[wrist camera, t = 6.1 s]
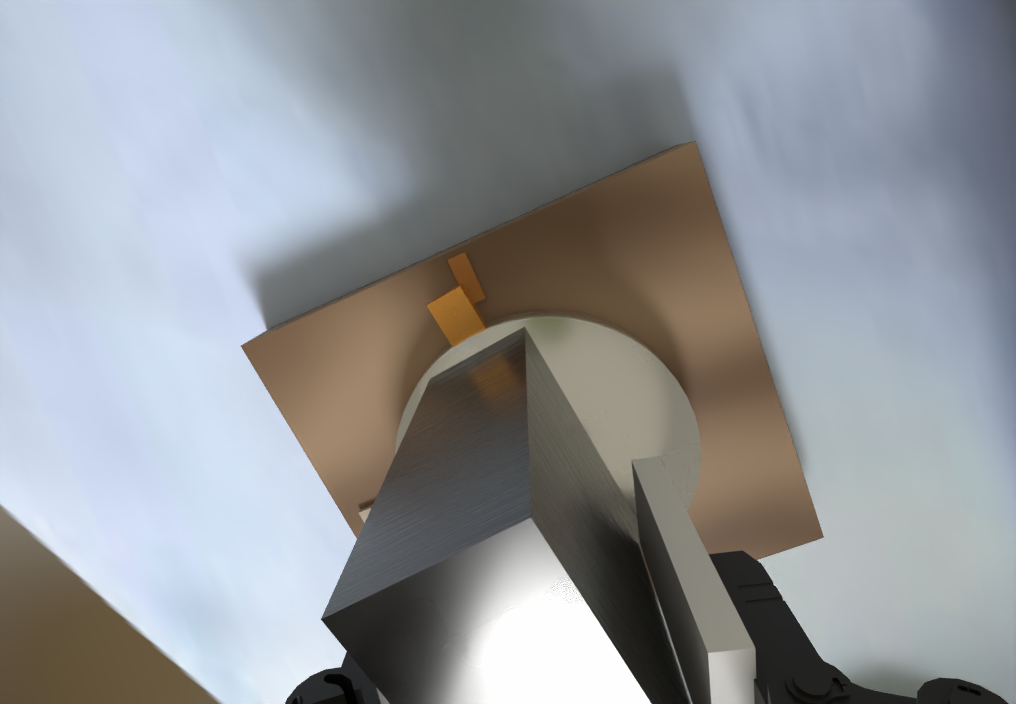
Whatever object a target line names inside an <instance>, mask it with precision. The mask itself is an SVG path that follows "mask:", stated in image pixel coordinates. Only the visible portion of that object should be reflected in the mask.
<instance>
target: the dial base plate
mask: <svg viewBox="0 0 1016 704" xmlns="http://www.w3.org/2000/svg"><path fill="white" fill-rule="evenodd" d="M461 283H462V284H463V285H464V287H465V288H466V290H467V292H468V293H469V295H470V297H471V298H472V300H473V302H474V303H475V305H476V307H477V308H478V310H479V312H480V313H481V315H482V317H483V318H484V320H485V322H488V321H490V320H493V319H496V318H499V317H502V316H505V315H508V314H514V313H519V312H524V311H532V310H563V311H572V312H577V313H582V314H587V315H591V316H593V317H596V318H599V319H602V320H605V321H608V322H610V323H612V324H614V325H616V326H618V327H620V328H622V329H624V330H626V331H627V332H629V333H630V334H632V335H633V336H635V337H636V338H638V339H639V340H641V341H642V342H643V343H644V344H645V345H646V346H648V347H649V348H650V349H651V350H652V351H653V352H654V353H655V354H656V355H657V356H658V357H659V359H660V360H661V361H662V362H663V363H664V364H665V366H666V367H667V368H668V369H669V371H670V372H671V373H672V374H673V376H674V377H675V378H676V380H677V381H678V383H679V384H680V386H681V387H682V389H683V391H684V392H685V394H686V396H687V397H688V400H689V402H690V404H691V407H692V409H693V411H694V414H695V417H696V421H697V425H698V429H699V433H700V443H701V469H700V474H699V479H698V485H697V488H696V491H695V494H694V497H693V500H692V503H691V505H690V507H689V509H688V511H687V513H688V515H689V517H690V519H691V521H692V523H693V525H694V527H695V529H696V531H697V533H698V535H699V537H700V539H701V541H702V543H703V545H704V547H705V549H706V551H707V553H708V554H715V553H724V552H732V551H741V550H743V551H744V552H746V553H747V554H749V555H750V556H751V557H753V558H754V559H755V560H758V559H761V558H764V557H767V556H770V555H773V554H776V553H779V552H782V551H785V550H788V549H791V548H794V547H797V546H800V545H803V544H806V543H809V542H812V541H815V540H818V539H820V538H823V537H824V536H823V533H822V530H821V527H820V524H819V521H818V518H817V515H816V512H815V509H814V506H813V502H812V499H811V496H810V493H809V490H808V487H807V484H806V481H805V478H804V475H803V472H802V469H801V465H800V462H799V459H798V456H797V453H796V450H795V447H794V444H793V441H792V438H791V435H790V431H789V428H788V425H787V422H786V419H785V416H784V413H783V410H782V407H781V404H780V401H779V398H778V394H777V391H776V388H775V385H774V382H773V379H772V376H771V373H770V370H769V367H768V364H767V361H766V357H765V354H764V351H763V348H762V345H761V342H760V339H759V336H758V333H757V330H756V327H755V323H754V320H753V317H752V314H751V311H750V308H749V305H748V302H747V299H746V296H745V293H744V290H743V286H742V283H741V280H740V277H739V274H738V271H737V268H736V265H735V262H734V259H733V256H732V253H731V249H730V246H729V243H728V240H727V237H726V234H725V231H724V228H723V225H722V222H721V219H720V216H719V212H718V209H717V206H716V203H715V200H714V197H713V194H712V191H711V188H710V185H709V182H708V178H707V175H706V172H705V169H704V166H703V163H702V160H701V157H700V154H699V151H698V148H697V145H696V141H693V142H689V143H684V144H680V145H676V146H674V147H672V148H670V149H668V150H665V151H663V152H661V153H659V154H656V155H654V156H652V157H650V158H648V159H645V160H643V161H641V162H639V163H637V164H634V165H632V166H630V167H628V168H625V169H623V170H621V171H619V172H617V173H614V174H612V175H610V176H608V177H606V178H603V179H601V180H599V181H597V182H594V183H592V184H590V185H588V186H586V187H583V188H581V189H579V190H577V191H575V192H572V193H570V194H568V195H566V196H563V197H561V198H559V199H557V200H555V201H552V202H550V203H548V204H546V205H544V206H541V207H539V208H537V209H535V210H533V211H530V212H528V213H526V214H524V215H521V216H519V217H517V218H515V219H513V220H510V221H508V222H506V223H504V224H502V225H499V226H497V227H495V228H493V229H490V230H488V231H486V232H484V233H482V234H479V235H477V236H475V237H473V238H471V239H468V240H466V241H464V242H462V243H459V244H457V245H455V246H453V247H451V248H448V249H446V250H444V251H442V252H440V253H437V254H435V255H433V256H431V257H428V258H426V259H424V260H422V261H420V262H417V263H415V264H413V265H411V266H409V267H406V268H404V269H402V270H400V271H398V272H395V273H393V274H391V275H389V276H386V277H384V278H382V279H380V280H378V281H375V282H373V283H371V284H369V285H367V286H364V287H362V288H360V289H358V290H355V291H353V292H351V293H349V294H347V295H344V296H342V297H340V298H338V299H336V300H333V301H331V302H329V303H327V304H324V305H322V306H320V307H318V308H316V309H313V310H311V311H309V312H307V313H305V314H302V315H300V316H298V317H296V318H293V319H291V320H289V321H287V322H285V323H282V324H280V325H278V326H276V327H274V328H271V329H269V330H267V331H265V332H263V333H262V334H260V335H258V336H257V337H255V338H253V339H252V340H250V341H248V342H247V343H245V344H243V345H242V346H241V347H242V349H243V351H244V352H245V354H246V355H247V357H248V359H249V360H250V362H251V364H252V365H253V367H254V369H255V370H256V372H257V374H258V375H259V377H260V379H261V380H262V382H263V384H264V385H265V387H266V389H267V390H268V392H269V394H270V395H271V397H272V399H273V400H274V402H275V404H276V405H277V407H278V409H279V410H280V412H281V414H282V415H283V417H284V418H285V420H286V422H287V423H288V425H289V427H290V428H291V430H292V432H293V433H294V435H295V437H296V438H297V440H298V442H299V443H300V445H301V447H302V448H303V450H304V452H305V453H306V455H307V457H308V458H309V460H310V462H311V463H312V465H313V467H314V468H315V470H316V472H317V473H318V475H319V477H320V478H321V480H322V481H323V483H324V485H325V486H326V488H327V490H328V491H329V493H330V495H331V496H332V498H333V500H334V501H335V503H336V505H337V506H338V508H339V510H340V511H341V513H342V515H343V516H344V518H345V520H346V521H347V523H348V525H349V526H350V528H351V530H352V531H353V533H354V535H355V536H356V538H357V539H358V537H359V534H360V532H361V530H362V528H363V526H364V523H365V521H366V519H367V517H368V515H369V512H370V510H371V508H372V506H373V503H374V501H375V499H376V497H377V495H378V492H379V490H380V488H381V486H382V484H383V481H384V479H385V477H386V475H387V473H388V470H389V468H390V466H391V464H392V462H393V459H394V457H395V447H396V440H397V433H398V428H399V425H400V422H401V418H402V415H403V412H404V410H405V408H406V405H407V403H408V401H409V399H410V397H411V395H412V393H413V391H414V389H415V387H416V385H417V383H418V381H419V380H420V378H421V377H422V375H423V374H424V372H425V371H426V369H427V368H428V366H429V365H430V364H431V363H432V362H433V360H434V359H435V358H436V357H437V356H438V355H439V354H440V353H441V352H442V351H443V350H444V349H445V348H446V347H447V346H449V345H450V342H449V341H448V339H447V337H446V336H445V334H444V333H443V331H442V330H441V328H440V326H439V325H438V323H437V322H436V320H435V318H434V317H433V315H432V314H431V312H430V310H429V309H428V307H427V304H428V303H429V302H430V301H431V300H433V299H435V298H437V297H438V296H440V295H442V294H443V293H445V292H447V291H449V290H450V289H452V288H454V287H456V286H457V285H459V284H461Z"/></svg>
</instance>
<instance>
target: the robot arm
mask: <svg viewBox="0 0 1016 704" xmlns="http://www.w3.org/2000/svg"><path fill="white" fill-rule="evenodd" d="M631 462H632V471H633V481H634V491H635V501H636V511H637V520H638V530H639V540H640V545H641V548H642V551H643V554H644V558H645V561H646V564H647V567H648V570H649V573H650V576H651V579H652V582H653V585H654V588H655V591H656V594H657V597H658V600H659V603H660V606H661V609H662V612H663V615H664V618H665V621H666V624H667V627H668V630H669V633H670V637H671V640H672V643H673V646H674V649H675V652H676V655H677V658H678V661H679V664H680V667H681V670H682V673H683V676H684V679H685V682H686V685H687V688H688V691H689V694H690V697H691V700H692V703H693V704H1008V703H1007V702H1006V701H1005V700H1004V699H1002V698H1001V697H1000V696H998V695H996V694H994V693H992V692H991V691H989V690H987V689H985V688H983V687H981V686H980V685H976V684H973V683H970V682H966V681H963V680H960V679H950V678H938V679H934V680H931V681H928V682H925V683H924V684H923V686H922V687H921V688H920V689H919V690H918V692H917V698H911V697H905V696H899V695H894V694H888V693H882V692H877V691H873V690H869V689H866V688H863V687H860V686H858V685H856V684H853V683H851V682H850V680H849V679H848V678H847V677H846V676H845V675H844V674H843V673H842V672H840V671H839V670H838V669H837V668H836V667H834V666H832V665H830V664H828V663H826V662H824V661H823V660H822V659H821V657H820V656H819V655H818V653H817V651H816V650H815V648H814V647H813V645H812V643H811V642H810V640H809V639H808V637H807V635H806V634H805V632H804V631H803V629H802V628H801V626H800V624H799V623H798V621H797V620H796V618H795V616H794V615H793V613H792V612H791V610H790V608H789V607H788V605H787V604H786V602H785V601H783V599H782V596H781V594H780V593H779V591H778V589H777V588H776V586H774V585H773V581H772V580H771V578H770V577H769V575H768V573H767V572H766V570H765V569H764V567H763V566H762V564H761V563H759V562H758V561H757V560H755V559H754V558H753V557H751V556H750V555H749V554H747V553H746V552H744V551H743V550H741V551H732V552H724V553H715V554H708V553H707V551H706V549H705V547H704V545H703V543H702V541H701V539H700V537H699V535H698V533H697V531H696V529H695V527H694V525H693V523H692V521H691V519H690V517H689V515H688V513H687V511H686V509H685V507H684V505H683V503H682V501H681V499H680V497H679V495H678V493H677V491H676V489H675V487H674V485H673V483H672V481H671V479H670V477H669V475H668V473H667V471H666V469H665V467H664V465H663V463H662V461H661V459H660V457H659V456H656V457H648V458H640V459H633V460H631ZM285 704H390V703H389V702H388V701H387V700H386V698H385V697H384V696H383V695H382V693H381V692H380V691H379V690H378V689H377V687H376V686H375V685H374V684H373V682H372V681H371V680H370V679H369V678H368V676H367V675H366V674H365V673H364V671H363V670H362V669H361V668H360V667H359V665H358V664H357V663H356V662H355V660H354V659H353V658H352V657H351V656H350V654H349V653H348V652H346V655H345V658H344V661H343V663H342V666H341V668H333V669H326V670H323V671H321V672H319V673H317V674H314V675H312V676H310V677H309V678H308V679H306V680H305V681H304V682H302V683H301V684H300V685H298V686H297V687H296V689H295V690H294V691H293V692H292V694H291V695H290V696H289V697H288V698H287V700H286V703H285Z"/></svg>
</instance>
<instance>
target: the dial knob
mask: <svg viewBox="0 0 1016 704" xmlns="http://www.w3.org/2000/svg"><path fill="white" fill-rule="evenodd" d="M427 307H428V309H429V310H430V312H431V314H432V315H433V317H434V318H435V320H436V322H437V323H438V325H439V326H440V328H441V330H442V331H443V333H444V334H445V336H446V337H447V339H448V341H449V342H450V345H449V346H447V347H446V348H445V349H444V350H443V351H442V352H441V353H440V354H439V355H438V356H437V357H436V358H435V359H434V360H433V362H432V363H431V364H430V365H429V366H428V368H427V369H426V371H425V372H424V374H423V375H422V377H421V378H420V380H419V381H418V383H417V385H416V387H415V389H414V391H413V393H412V395H411V397H410V399H409V401H408V403H407V405H406V408H405V410H404V412H403V415H402V418H401V422H400V425H399V428H398V433H397V440H396V447H395V457H394V459H393V462H392V464H391V466H390V468H389V470H388V473H387V475H386V477H385V479H384V481H383V484H382V486H381V488H380V490H379V492H378V495H377V497H376V499H375V501H374V503H373V506H372V508H371V510H370V512H369V515H368V517H367V519H366V521H365V523H364V526H363V528H362V530H361V532H360V534H359V537H358V539H357V541H356V543H355V545H354V548H353V550H352V552H351V554H350V556H349V559H348V561H347V563H346V565H345V568H344V570H343V572H342V574H341V576H340V579H339V581H338V583H337V585H336V587H335V590H334V592H333V594H332V596H331V598H330V601H329V603H328V605H327V607H326V609H325V612H324V614H323V616H322V618H321V620H322V621H323V622H324V624H325V625H326V626H327V627H328V629H329V630H330V631H331V632H332V634H333V635H334V636H335V637H336V638H337V640H338V641H339V642H340V643H341V645H342V646H343V647H344V648H345V649H346V651H347V652H348V653H349V654H350V656H351V657H352V658H353V659H354V660H355V662H356V663H357V664H358V665H359V667H360V668H361V669H362V670H363V671H364V673H365V674H366V675H367V676H368V678H369V679H370V680H371V681H372V682H373V684H374V685H375V686H376V687H377V689H378V690H379V691H380V692H381V693H382V695H383V696H384V697H385V698H386V700H387V701H388V702H389V703H390V704H693V703H692V700H691V697H690V694H689V691H688V688H687V685H686V682H685V679H684V676H683V673H682V670H681V667H680V664H679V661H678V658H677V655H676V652H675V649H674V646H673V643H672V640H671V637H670V633H669V630H668V627H667V624H666V621H665V618H664V615H663V612H662V609H661V606H660V603H659V600H658V597H657V594H656V591H655V588H654V585H653V582H652V579H651V576H650V573H649V570H648V567H647V564H646V561H645V558H644V554H643V551H642V548H641V545H640V540H639V530H638V520H637V511H636V501H635V491H634V481H633V471H632V462H631V460H633V459H640V458H648V457H656V456H659V457H660V459H661V461H662V463H663V465H664V467H665V469H666V471H667V473H668V475H669V477H670V479H671V481H672V483H673V485H674V487H675V489H676V491H677V493H678V495H679V497H680V499H681V501H682V503H683V505H684V507H685V509H686V511H688V509H689V507H690V505H691V503H692V500H693V497H694V494H695V491H696V488H697V485H698V479H699V474H700V469H701V443H700V433H699V429H698V425H697V421H696V417H695V414H694V411H693V409H692V407H691V404H690V402H689V400H688V397H687V396H686V394H685V392H684V391H683V389H682V387H681V386H680V384H679V383H678V381H677V380H676V378H675V377H674V376H673V374H672V373H671V372H670V371H669V369H668V368H667V367H666V366H665V364H664V363H663V362H662V361H661V360H660V359H659V357H658V356H657V355H656V354H655V353H654V352H653V351H652V350H651V349H650V348H649V347H648V346H646V345H645V344H644V343H643V342H642V341H641V340H639V339H638V338H636V337H635V336H633V335H632V334H630V333H629V332H627V331H626V330H624V329H622V328H620V327H618V326H616V325H614V324H612V323H610V322H608V321H605V320H602V319H599V318H596V317H593V316H591V315H587V314H582V313H577V312H572V311H563V310H532V311H524V312H519V313H514V314H508V315H505V316H502V317H499V318H496V319H493V320H490V321H488V322H485V320H484V318H483V317H482V315H481V313H480V312H479V310H478V308H477V307H476V305H475V303H474V302H473V300H472V298H471V297H470V295H469V293H468V292H467V290H466V288H465V287H464V285H463V284H462V283H461V284H459V285H457V286H456V287H454V288H452V289H450V290H449V291H447V292H445V293H443V294H442V295H440V296H438V297H437V298H435V299H433V300H431V301H430V302H429V303H428V304H427Z"/></svg>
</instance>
